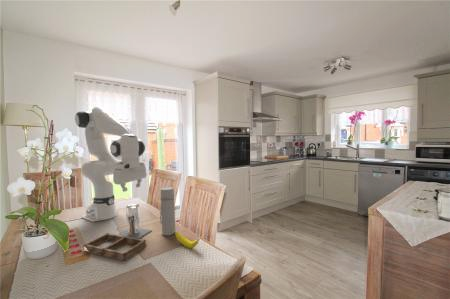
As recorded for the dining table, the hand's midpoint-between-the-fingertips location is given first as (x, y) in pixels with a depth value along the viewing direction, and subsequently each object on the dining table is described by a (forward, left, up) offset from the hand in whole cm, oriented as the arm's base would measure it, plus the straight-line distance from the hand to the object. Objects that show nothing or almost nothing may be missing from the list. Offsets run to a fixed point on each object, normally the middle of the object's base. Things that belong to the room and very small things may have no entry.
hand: (131, 189), depth 115 cm
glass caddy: (+3, -15, -25) cm, 29 cm away
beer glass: (0, +1, -25) cm, 25 cm away
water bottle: (+17, +7, -25) cm, 31 cm away
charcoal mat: (0, 0, -25) cm, 25 cm away
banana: (+35, -2, -25) cm, 43 cm away
